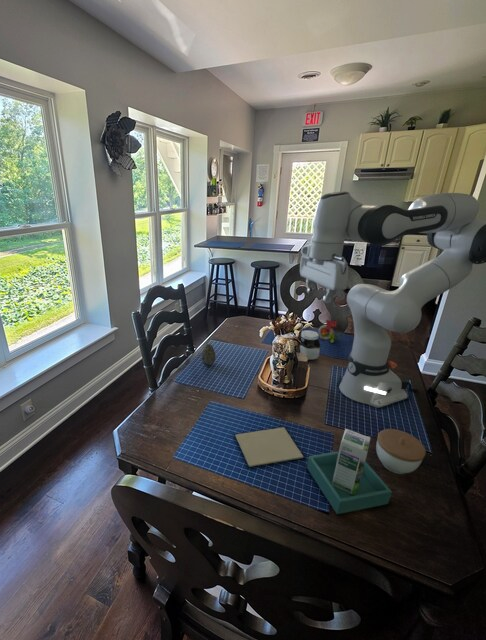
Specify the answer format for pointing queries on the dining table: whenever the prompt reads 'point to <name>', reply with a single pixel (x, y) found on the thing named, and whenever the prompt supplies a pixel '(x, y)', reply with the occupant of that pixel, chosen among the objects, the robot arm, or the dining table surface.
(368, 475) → the teal green tray
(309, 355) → the spread jar
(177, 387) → the dining table surface
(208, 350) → the decorative egg
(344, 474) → the syrup box
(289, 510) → the dining table surface
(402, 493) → the dining table surface
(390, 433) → the trinket box
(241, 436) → the felt mat
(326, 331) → the bird rattle
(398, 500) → the dining table surface
